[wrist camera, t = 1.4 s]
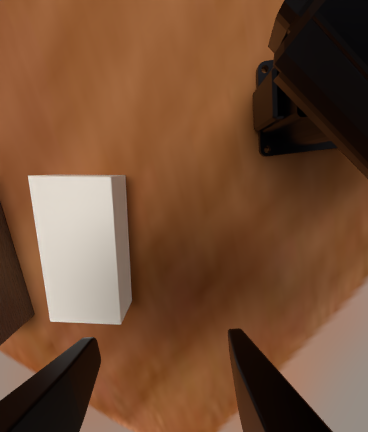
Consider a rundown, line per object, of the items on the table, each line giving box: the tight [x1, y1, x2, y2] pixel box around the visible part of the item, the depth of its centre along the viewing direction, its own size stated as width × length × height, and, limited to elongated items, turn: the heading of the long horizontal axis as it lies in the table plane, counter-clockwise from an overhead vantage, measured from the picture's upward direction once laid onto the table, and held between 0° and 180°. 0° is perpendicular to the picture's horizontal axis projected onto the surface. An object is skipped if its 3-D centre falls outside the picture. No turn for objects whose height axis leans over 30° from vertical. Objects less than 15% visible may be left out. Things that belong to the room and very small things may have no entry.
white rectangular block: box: [28, 175, 132, 325], centre depth 18 cm, size 6×12×4 cm, turn 0°
